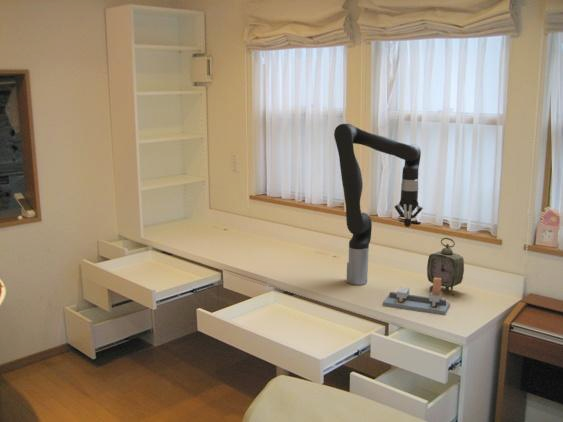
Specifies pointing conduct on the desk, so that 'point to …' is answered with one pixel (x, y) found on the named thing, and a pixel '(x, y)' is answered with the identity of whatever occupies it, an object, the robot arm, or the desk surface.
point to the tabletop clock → (446, 267)
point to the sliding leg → (436, 291)
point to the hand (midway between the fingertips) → (407, 226)
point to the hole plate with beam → (415, 302)
